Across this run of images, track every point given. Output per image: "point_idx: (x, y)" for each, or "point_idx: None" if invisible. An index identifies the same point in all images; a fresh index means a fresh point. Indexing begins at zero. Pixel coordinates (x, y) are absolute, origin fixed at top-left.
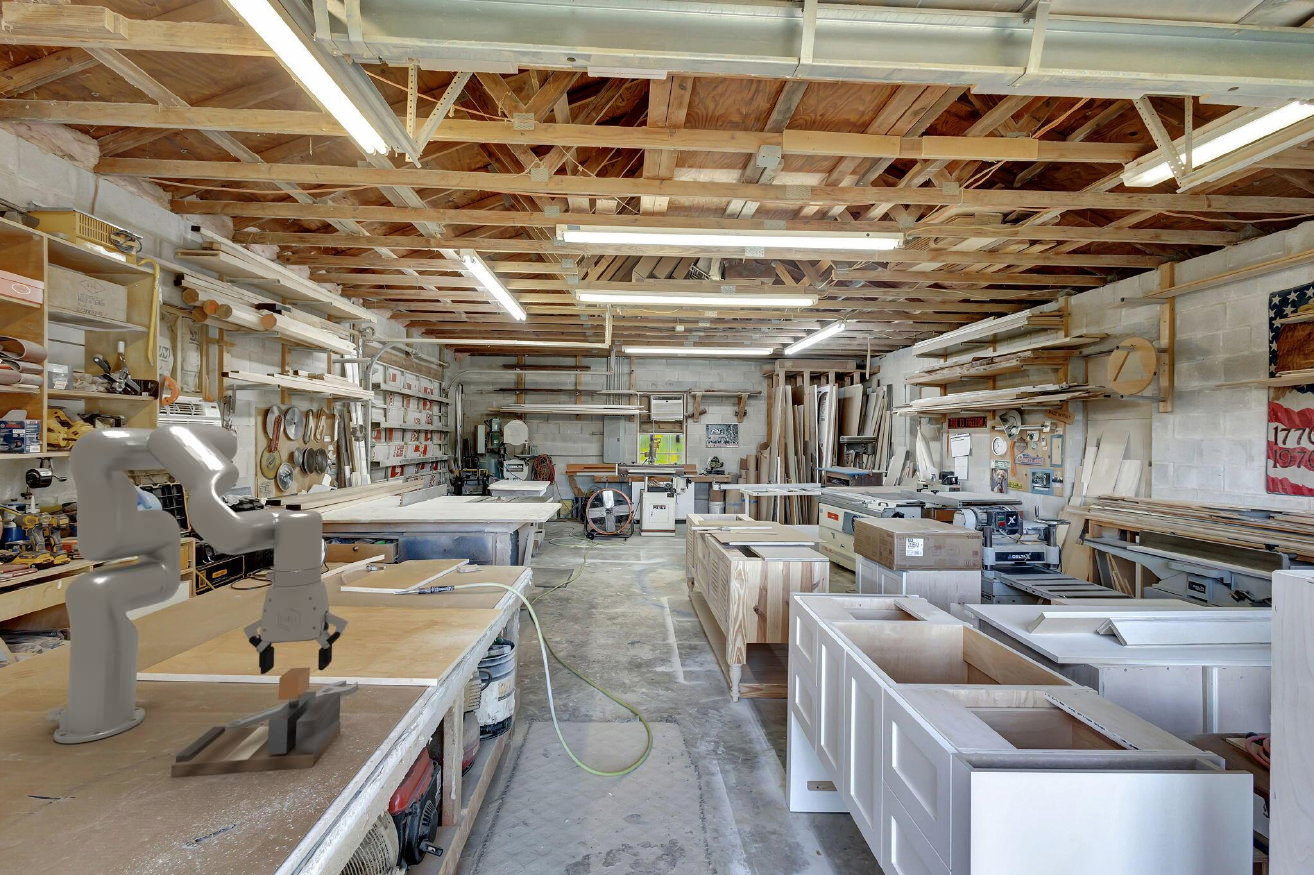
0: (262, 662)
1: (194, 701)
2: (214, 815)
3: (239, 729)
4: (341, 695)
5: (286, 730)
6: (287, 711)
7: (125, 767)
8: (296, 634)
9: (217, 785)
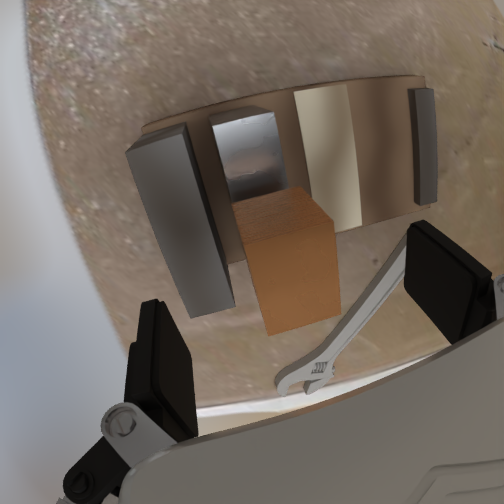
0: (451, 245)
1: None
2: None
3: (393, 212)
4: (290, 365)
5: (211, 121)
6: (254, 175)
7: (482, 115)
8: (337, 466)
9: (307, 42)
